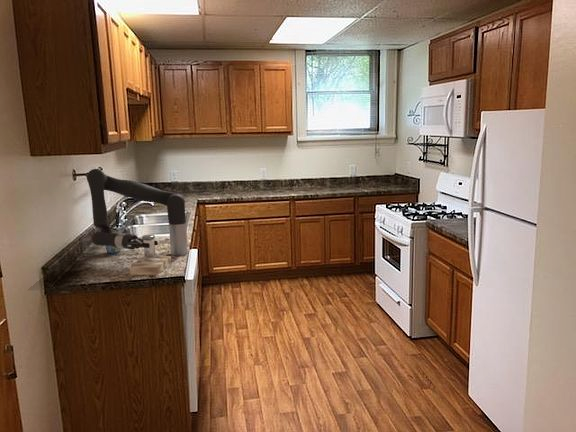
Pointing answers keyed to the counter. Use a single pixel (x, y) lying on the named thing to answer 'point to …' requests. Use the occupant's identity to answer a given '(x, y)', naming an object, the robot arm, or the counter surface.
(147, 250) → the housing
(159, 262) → the stand
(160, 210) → the counter surface
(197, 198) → the counter surface
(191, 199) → the counter surface
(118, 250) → the snack cup
